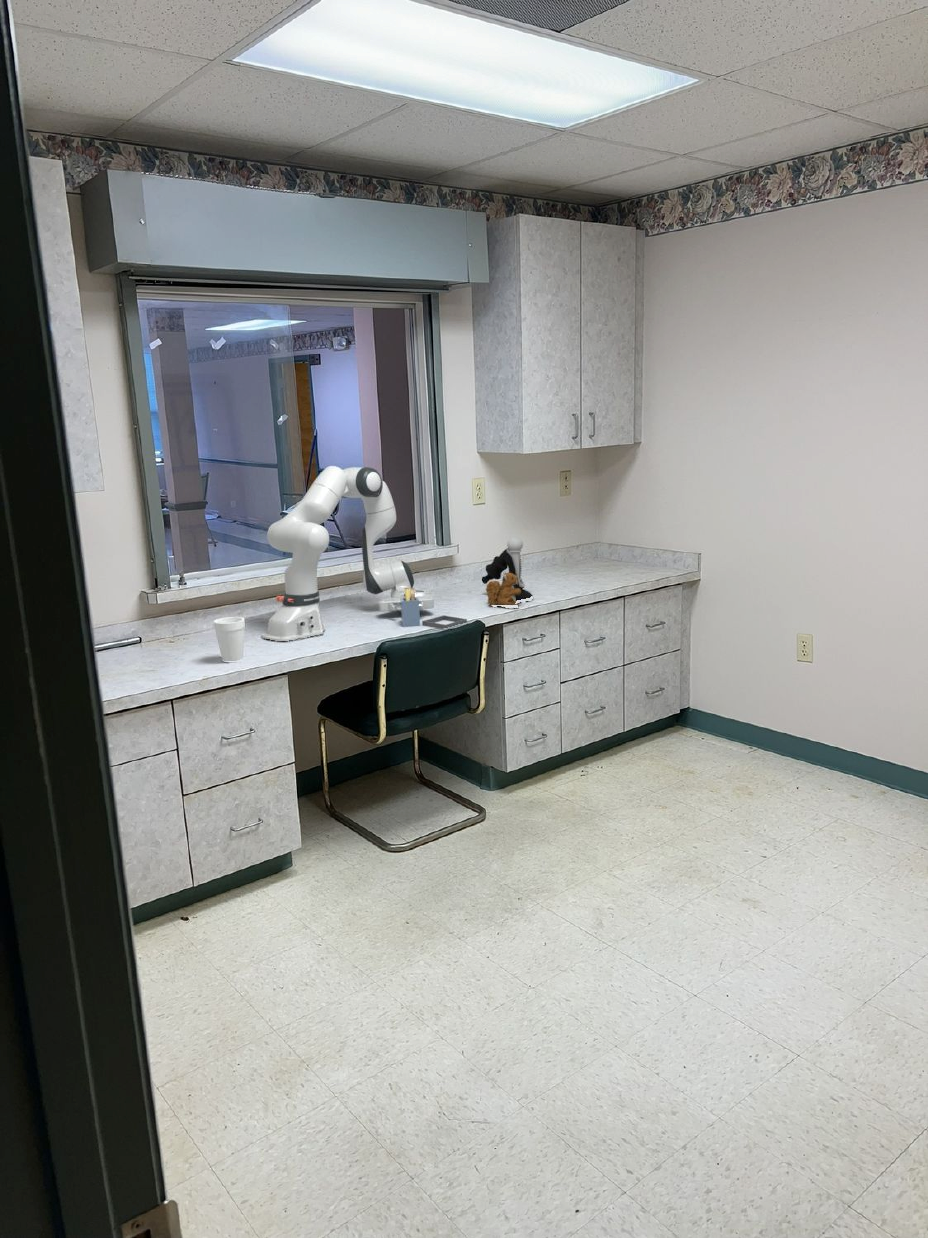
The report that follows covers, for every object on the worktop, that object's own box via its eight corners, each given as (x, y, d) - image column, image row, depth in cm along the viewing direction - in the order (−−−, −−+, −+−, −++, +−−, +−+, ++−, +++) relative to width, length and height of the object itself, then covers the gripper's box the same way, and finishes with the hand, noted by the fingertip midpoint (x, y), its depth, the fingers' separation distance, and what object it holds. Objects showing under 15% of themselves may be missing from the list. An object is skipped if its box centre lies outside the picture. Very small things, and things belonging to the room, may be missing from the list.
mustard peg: (408, 626, 326) (407, 590, 323) (405, 625, 327) (404, 589, 324) (411, 625, 327) (410, 589, 324) (408, 624, 328) (407, 588, 325)
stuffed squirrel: (520, 609, 350) (519, 575, 348) (483, 609, 353) (482, 575, 350) (523, 603, 360) (522, 570, 357) (487, 603, 363) (486, 570, 360)
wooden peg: (413, 625, 327) (412, 589, 324) (410, 624, 328) (409, 588, 325) (416, 624, 328) (415, 588, 325) (413, 623, 329) (412, 587, 326)
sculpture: (518, 604, 358) (517, 541, 353) (471, 598, 373) (469, 537, 367) (541, 598, 370) (540, 536, 364) (494, 592, 384) (492, 532, 379)
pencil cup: (403, 629, 325) (401, 601, 323) (401, 625, 331) (400, 598, 328) (420, 628, 326) (418, 600, 323) (418, 624, 331) (417, 597, 329)
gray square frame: (445, 631, 319) (445, 625, 319) (422, 627, 326) (422, 621, 326) (467, 625, 327) (466, 619, 327) (443, 621, 334) (443, 615, 334)
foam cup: (250, 655, 295) (247, 616, 292) (245, 663, 286) (241, 622, 283) (220, 657, 295) (217, 617, 292) (214, 664, 286) (210, 624, 283)
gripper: (376, 593, 344) (378, 601, 331) (430, 590, 347) (435, 597, 334) (377, 610, 345) (379, 618, 332) (431, 607, 349) (436, 614, 335)
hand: (408, 607), depth 333 cm, fingers open, 8 cm apart
